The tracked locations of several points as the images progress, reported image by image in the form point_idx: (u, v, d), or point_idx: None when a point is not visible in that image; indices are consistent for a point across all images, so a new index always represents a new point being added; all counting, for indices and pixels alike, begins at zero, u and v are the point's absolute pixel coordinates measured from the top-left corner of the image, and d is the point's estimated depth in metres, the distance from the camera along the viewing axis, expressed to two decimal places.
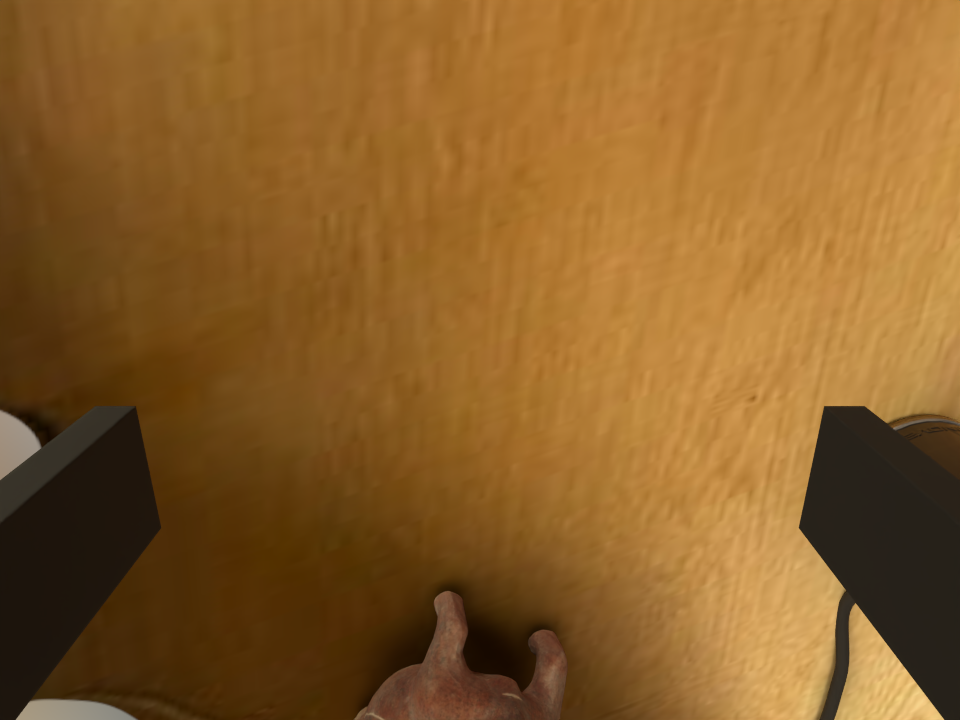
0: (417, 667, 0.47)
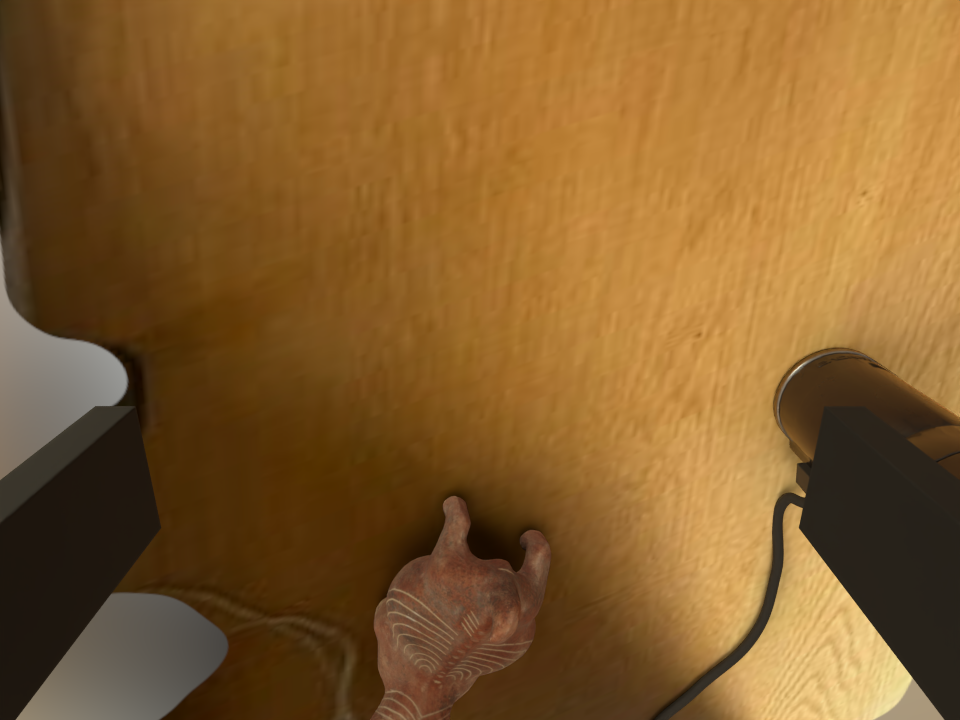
0: (429, 555, 0.58)
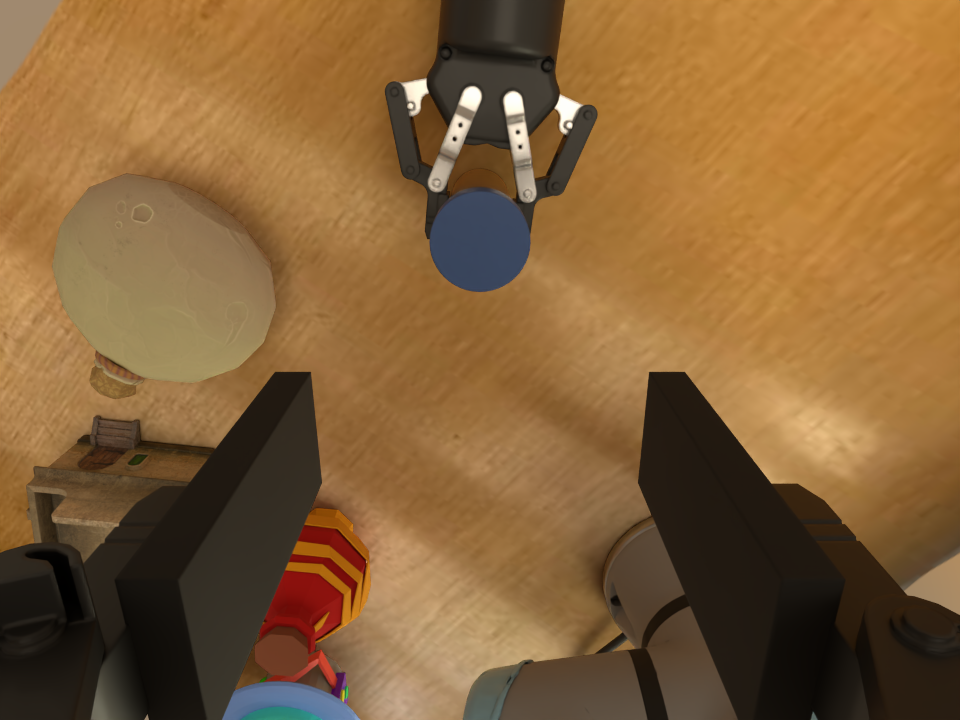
0: None
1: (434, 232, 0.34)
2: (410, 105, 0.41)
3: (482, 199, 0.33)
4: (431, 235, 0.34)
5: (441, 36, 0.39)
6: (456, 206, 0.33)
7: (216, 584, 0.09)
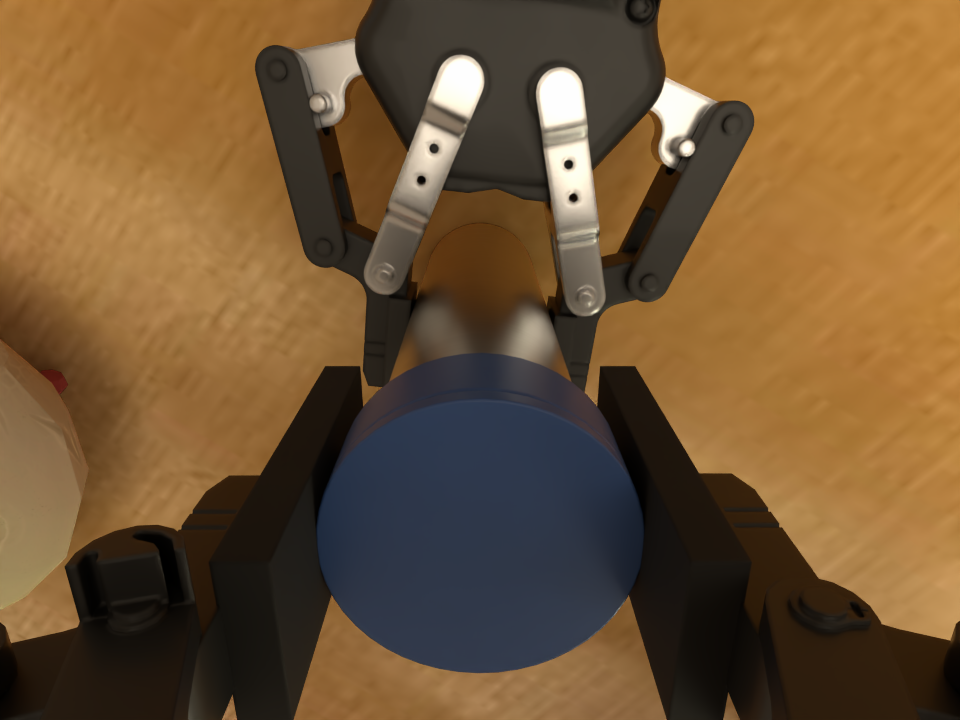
0: None
1: (330, 519, 0.10)
2: (317, 102, 0.17)
3: (489, 424, 0.10)
4: (320, 527, 0.10)
5: None
6: (400, 445, 0.10)
7: (295, 569, 0.09)
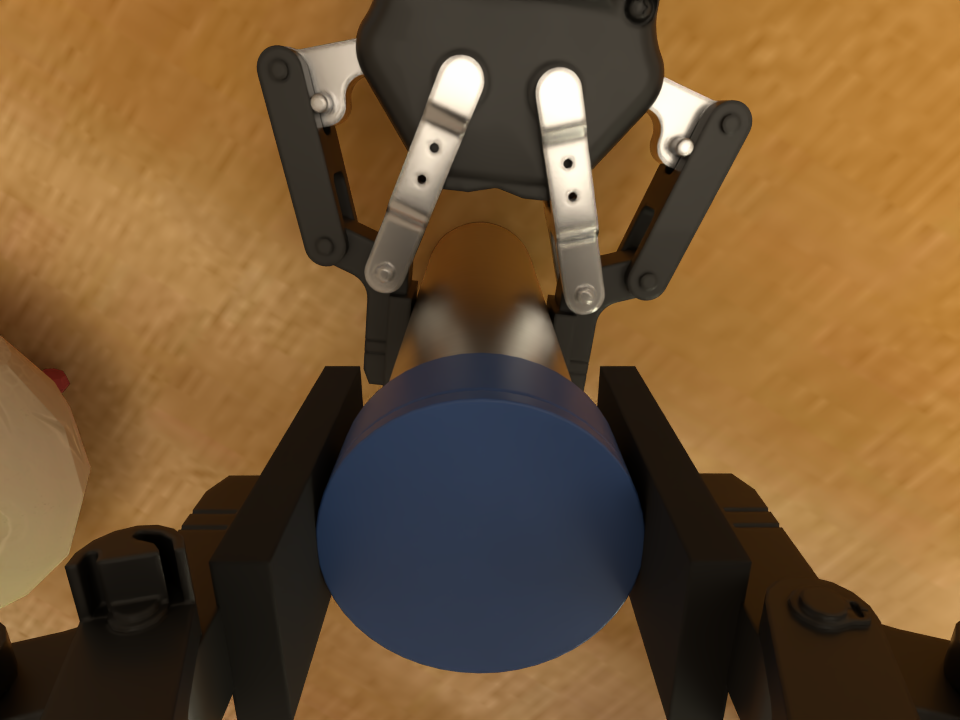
0: None
1: (539, 654, 0.11)
2: (318, 102, 0.18)
3: (369, 611, 0.11)
4: (551, 655, 0.11)
5: None
6: (436, 651, 0.11)
7: (295, 569, 0.09)
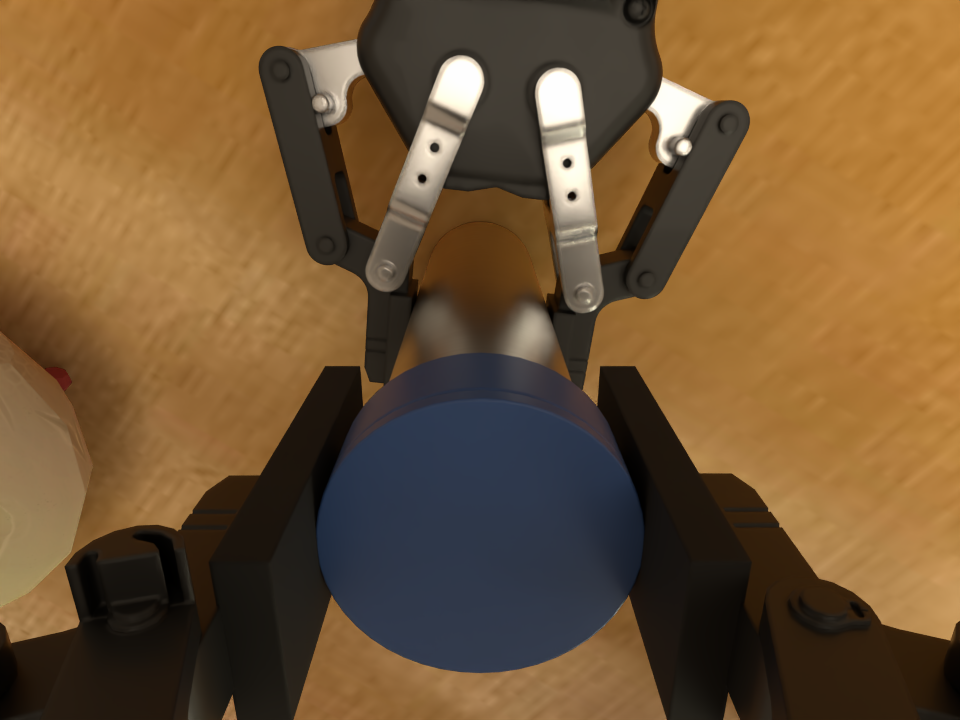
0: None
1: (555, 428, 0.10)
2: (319, 102, 0.18)
3: (610, 583, 0.11)
4: (548, 415, 0.10)
5: None
6: (616, 512, 0.10)
7: (295, 569, 0.09)
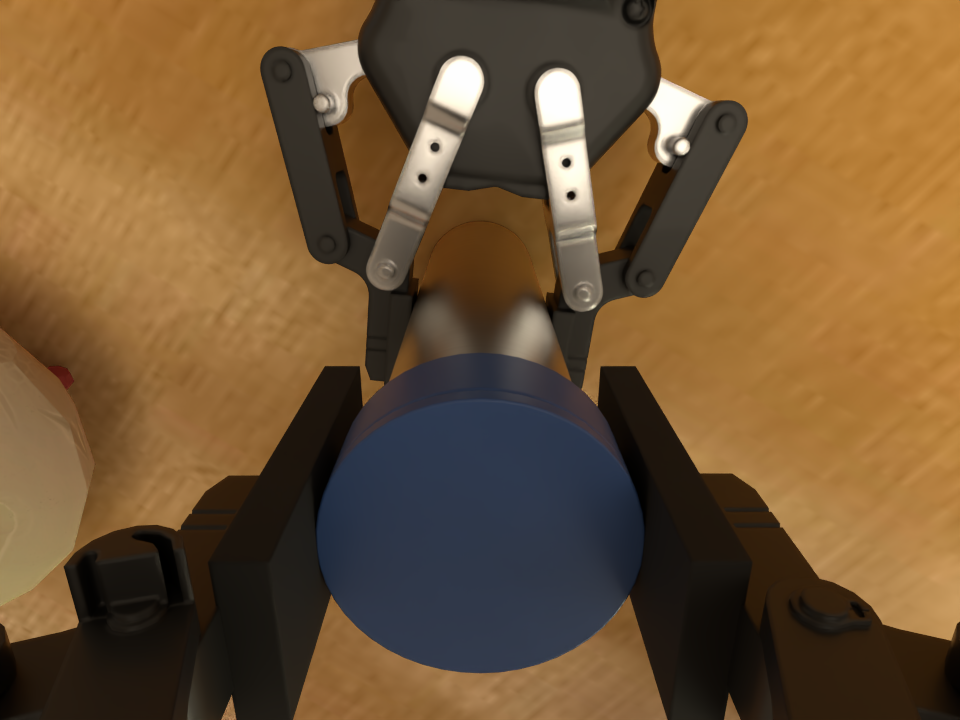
0: None
1: (333, 570, 0.11)
2: (320, 102, 0.18)
3: (428, 431, 0.10)
4: (329, 580, 0.11)
5: None
6: (359, 481, 0.10)
7: (295, 569, 0.09)
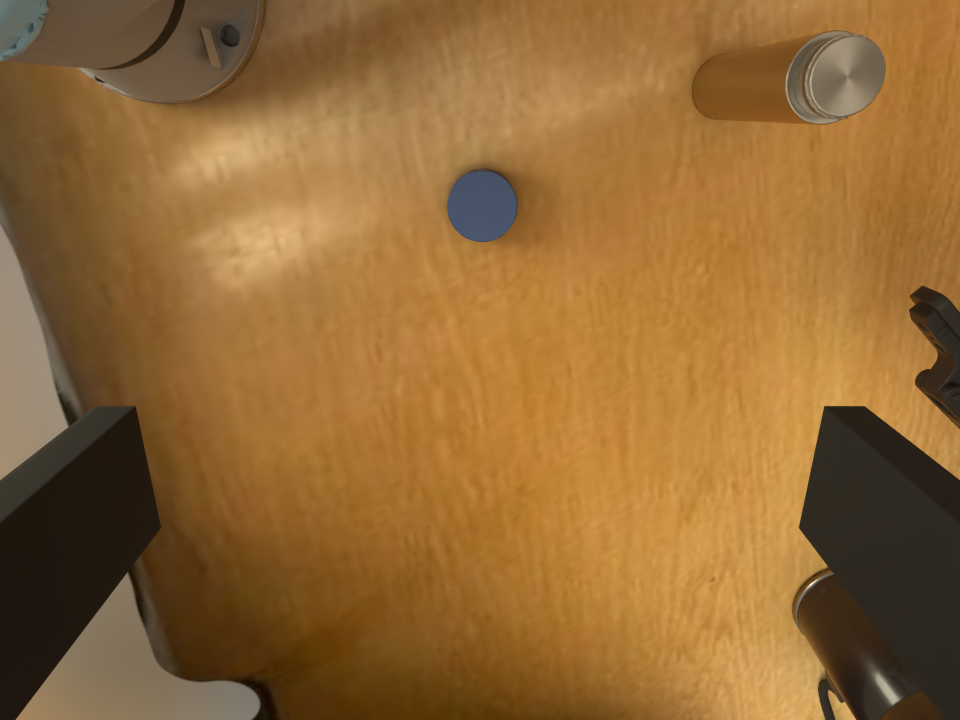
0: None
1: (450, 213, 0.49)
2: None
3: (471, 178, 0.48)
4: (449, 215, 0.49)
5: None
6: (457, 190, 0.49)
7: None
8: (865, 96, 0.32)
